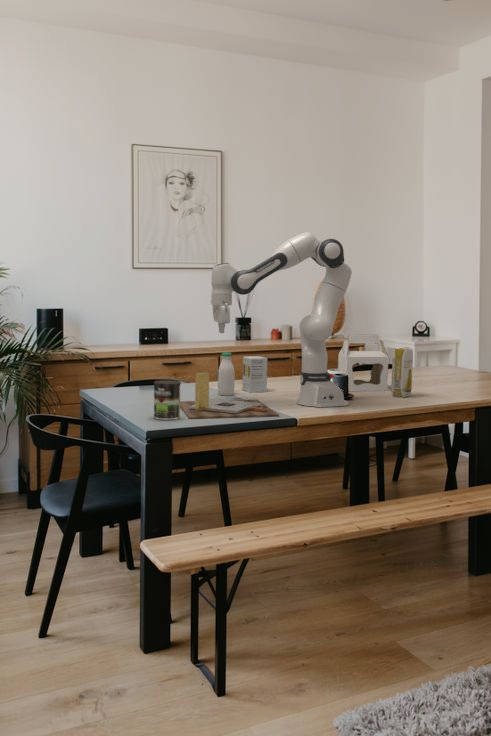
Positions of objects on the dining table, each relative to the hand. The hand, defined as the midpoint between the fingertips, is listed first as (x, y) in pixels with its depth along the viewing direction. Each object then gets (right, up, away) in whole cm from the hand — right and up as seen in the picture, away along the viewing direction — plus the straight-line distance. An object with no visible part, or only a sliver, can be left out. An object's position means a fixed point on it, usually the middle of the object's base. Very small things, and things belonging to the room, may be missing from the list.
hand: (221, 333), depth 300 cm
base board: (+2, -33, -12) cm, 35 cm away
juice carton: (+85, -29, +30) cm, 94 cm away
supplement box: (+15, -27, +40) cm, 50 cm away
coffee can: (-20, -35, -32) cm, 51 cm away
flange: (+5, -32, -15) cm, 35 cm away
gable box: (+70, -26, +51) cm, 90 cm away
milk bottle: (+1, -28, +27) cm, 39 cm away
